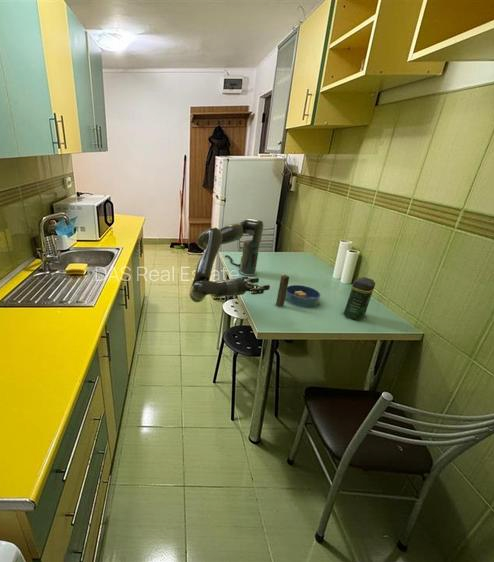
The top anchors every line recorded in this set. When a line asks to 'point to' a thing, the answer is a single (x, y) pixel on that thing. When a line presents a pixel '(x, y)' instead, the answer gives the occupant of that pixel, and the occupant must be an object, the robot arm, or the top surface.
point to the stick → (282, 290)
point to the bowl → (309, 301)
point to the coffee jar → (359, 298)
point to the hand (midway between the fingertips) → (263, 283)
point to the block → (300, 294)
